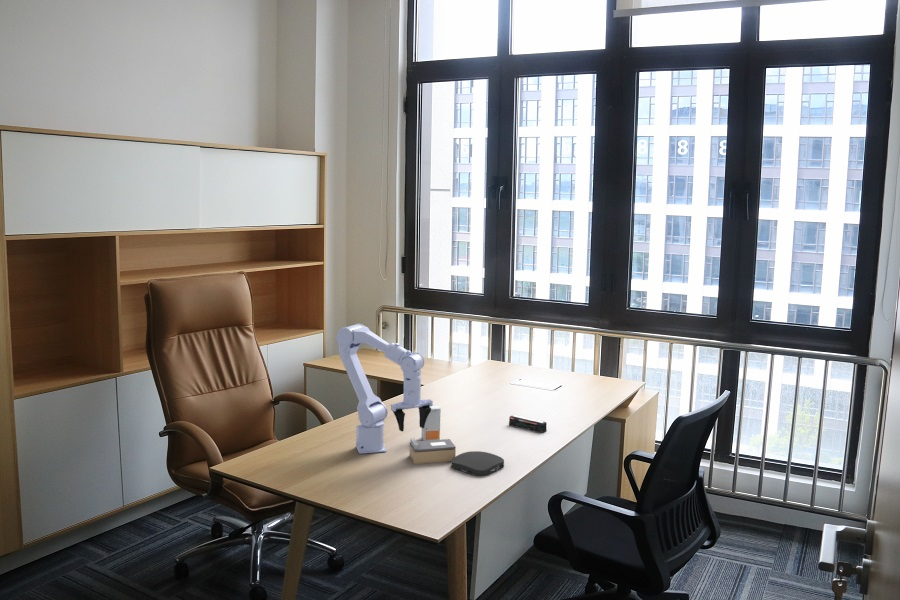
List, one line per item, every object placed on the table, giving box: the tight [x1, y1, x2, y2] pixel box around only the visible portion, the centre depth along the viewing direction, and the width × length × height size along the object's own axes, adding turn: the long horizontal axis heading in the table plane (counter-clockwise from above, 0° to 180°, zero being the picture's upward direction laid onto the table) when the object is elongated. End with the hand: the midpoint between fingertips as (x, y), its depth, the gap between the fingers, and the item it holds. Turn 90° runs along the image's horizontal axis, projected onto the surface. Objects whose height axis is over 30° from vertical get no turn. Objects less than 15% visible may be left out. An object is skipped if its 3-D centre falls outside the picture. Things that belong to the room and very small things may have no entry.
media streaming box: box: [450, 450, 505, 477], centre depth 254 cm, size 15×15×3 cm
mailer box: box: [409, 444, 457, 465], centre depth 260 cm, size 14×8×4 cm, turn 105°
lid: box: [409, 437, 457, 452], centre depth 260 cm, size 14×8×2 cm, turn 105°
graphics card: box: [508, 414, 548, 434], centre depth 296 cm, size 14×25×4 cm, turn 53°
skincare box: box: [421, 405, 441, 441], centre depth 279 cm, size 6×4×12 cm
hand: (411, 429), depth 260 cm, fingers open, 7 cm apart
